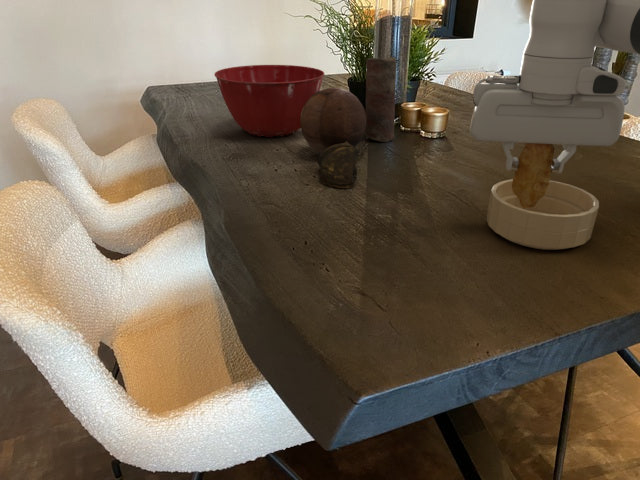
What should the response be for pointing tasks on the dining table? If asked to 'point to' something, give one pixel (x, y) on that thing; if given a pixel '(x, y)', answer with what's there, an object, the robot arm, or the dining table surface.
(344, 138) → the wooden sphere
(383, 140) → the candle
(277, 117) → the mixing bowl
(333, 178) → the seashell
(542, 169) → the stone tool
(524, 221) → the bowl
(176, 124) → the dining table surface
